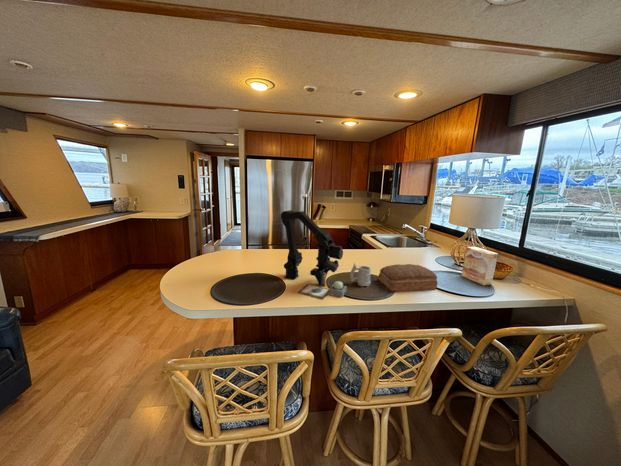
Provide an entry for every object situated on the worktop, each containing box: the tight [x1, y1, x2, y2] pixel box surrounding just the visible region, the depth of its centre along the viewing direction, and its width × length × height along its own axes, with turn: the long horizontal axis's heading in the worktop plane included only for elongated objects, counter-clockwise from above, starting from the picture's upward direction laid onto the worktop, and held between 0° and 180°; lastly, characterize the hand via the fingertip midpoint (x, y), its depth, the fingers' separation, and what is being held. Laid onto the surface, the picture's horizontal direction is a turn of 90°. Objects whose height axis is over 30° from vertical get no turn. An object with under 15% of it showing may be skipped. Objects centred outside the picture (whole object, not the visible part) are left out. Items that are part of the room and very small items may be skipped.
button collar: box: [328, 283, 348, 298], centre depth 126 cm, size 7×7×3 cm
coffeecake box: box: [460, 246, 499, 286], centre depth 148 cm, size 15×7×20 cm, turn 18°
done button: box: [333, 280, 344, 290], centre depth 125 cm, size 4×4×4 cm
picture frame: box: [297, 283, 329, 300], centre depth 126 cm, size 14×11×1 cm
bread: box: [377, 263, 438, 292], centre depth 139 cm, size 17×29×11 cm, turn 101°
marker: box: [317, 273, 327, 288], centre depth 133 cm, size 4×4×7 cm
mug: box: [349, 263, 372, 287], centre depth 137 cm, size 8×12×12 cm, turn 87°
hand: (321, 282), depth 134 cm, fingers open, 5 cm apart
